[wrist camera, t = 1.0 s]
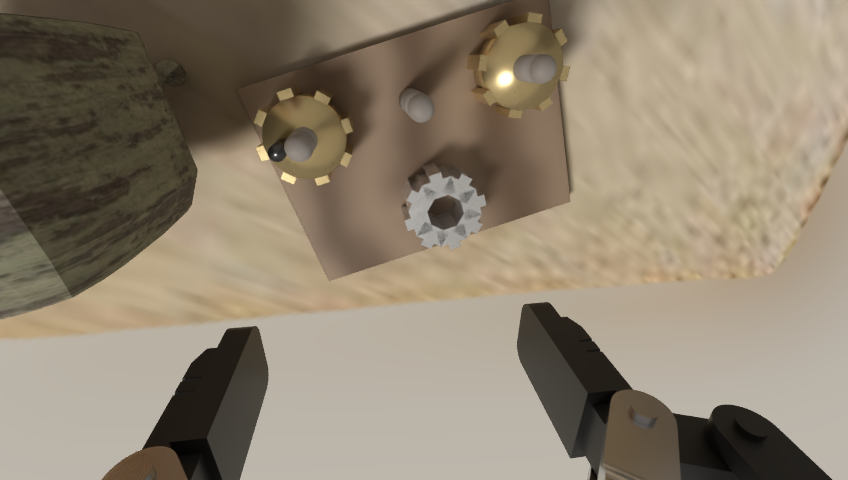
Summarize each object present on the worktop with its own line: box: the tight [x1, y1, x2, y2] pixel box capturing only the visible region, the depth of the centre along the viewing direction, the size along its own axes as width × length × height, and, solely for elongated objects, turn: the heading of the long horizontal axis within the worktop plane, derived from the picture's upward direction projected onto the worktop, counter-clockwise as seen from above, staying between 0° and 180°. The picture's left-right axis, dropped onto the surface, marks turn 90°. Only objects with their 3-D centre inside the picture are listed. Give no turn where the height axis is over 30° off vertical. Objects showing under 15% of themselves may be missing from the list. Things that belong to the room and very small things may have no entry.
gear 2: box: [466, 12, 570, 119], centre depth 26 cm, size 6×6×3 cm
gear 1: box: [254, 85, 354, 186], centre depth 24 cm, size 6×6×5 cm
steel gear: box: [401, 162, 486, 250], centre depth 29 cm, size 6×6×3 cm
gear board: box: [236, 0, 570, 281], centre depth 26 cm, size 22×16×7 cm
